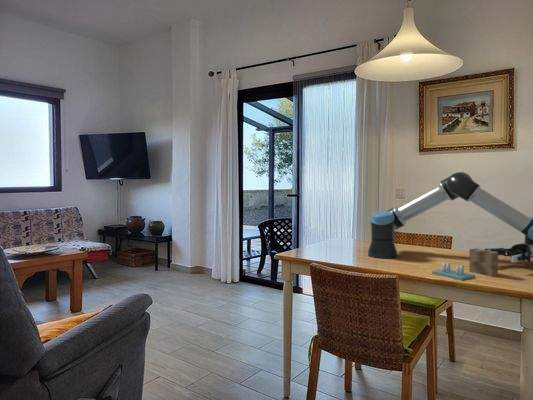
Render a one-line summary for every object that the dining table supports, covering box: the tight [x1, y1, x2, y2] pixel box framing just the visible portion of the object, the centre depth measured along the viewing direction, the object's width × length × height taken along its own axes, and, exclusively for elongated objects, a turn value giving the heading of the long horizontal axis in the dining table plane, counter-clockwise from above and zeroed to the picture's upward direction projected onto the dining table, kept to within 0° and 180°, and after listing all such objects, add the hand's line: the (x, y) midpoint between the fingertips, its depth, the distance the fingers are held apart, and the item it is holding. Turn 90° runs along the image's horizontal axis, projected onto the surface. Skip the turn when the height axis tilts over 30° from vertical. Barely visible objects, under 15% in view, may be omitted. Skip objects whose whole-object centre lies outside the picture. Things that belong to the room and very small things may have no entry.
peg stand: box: [431, 262, 476, 281], centre depth 171 cm, size 14×9×4 cm, turn 30°
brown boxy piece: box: [468, 248, 499, 277], centre depth 173 cm, size 10×4×10 cm, turn 30°
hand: (496, 256), depth 178 cm, fingers open, 13 cm apart
